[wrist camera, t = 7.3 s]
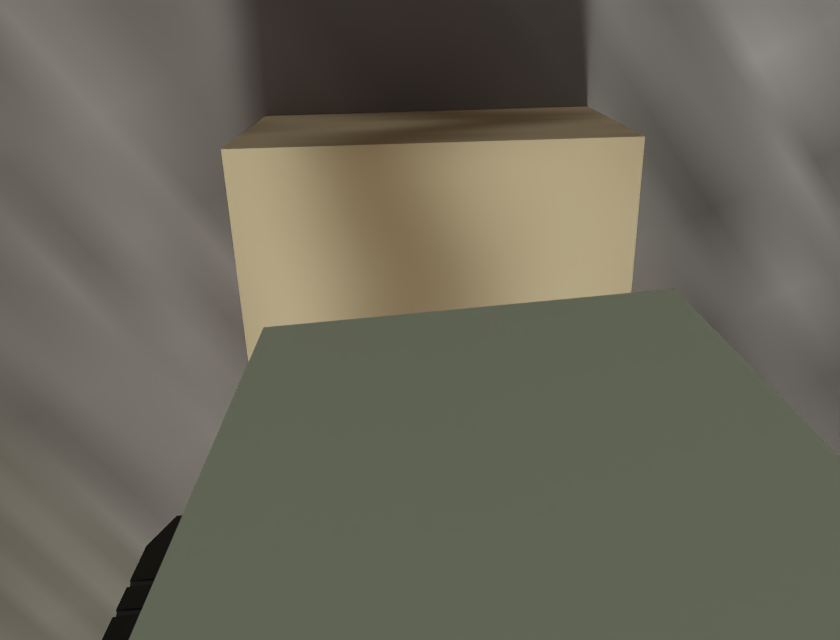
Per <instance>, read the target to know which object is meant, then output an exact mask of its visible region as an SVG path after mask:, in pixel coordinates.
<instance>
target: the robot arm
mask: <svg viewBox="0 0 840 640" xmlns="http://www.w3.org/2000/svg"><path fill="white" fill-rule="evenodd" d="M181 517H182V516H176V517H175V518H174V519H173V520H172V521H171V522H170V523H169V524H168V525H167V526H166V527H165V528H164V529H163V530H162V531H161V532H160V533H159V534H158V535H157V536H156V537H155V538H154V539H153V540H152V541H151V542H150V543H149V544H148V545H147V546H146V548H145V550H144V552H143V554H142V556H141V559H140V561H139V563H138V565H137V567H136V569H135V571H134V573H133V575H132V578H131V580H130V583H131V584H130V587H127V588H126V590H125V592H124V594H123V597H122V599H121V601H120V603H119V605H118V607H117V609H116V611H117V615H116V617H113V618H112V620H111V622H110V624H109V626H108V628H107V630H106V632H105V635H104V637H103V639H102V640H129V638H130V636H131V633H132V631H133V629H134V626H135V624H136V622H137V619H138V617H139V615H140V612H141V610H142V608H143V605H144V603H145V601H146V598H147V596H148V594H149V592H150V589H151V587H152V585H153V582H154V580H155V578H156V575H157V573H158V571H159V568H160V566H161V564H162V561H163V559H164V557H165V554H166V552H167V550H168V547H169V545H170V543H171V541H172V538H173V536H174V534H175V531H176V529H177V527H178V524H179V522H180V520H181Z"/></svg>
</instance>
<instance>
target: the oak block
mask: <svg viewBox="0 0 840 640" xmlns="http://www.w3.org/2000/svg"><path fill="white" fill-rule="evenodd" d="M644 142H645V136H643V135H641V134H639V133H637V132H636V131H634V130H632V129H630V128H628V127H626V126H624V125H622V124H620V123H618V122H616V121H614V120H613V119H611V118H609V117H607V116H605V115H603V114H601V113H599V112H597V111H595V110H593V109H592V108H590V107H588V106H584V107H551V108H518V109H485V110H452V111H418V112H385V113H352V114H319V115H286V116H265V117H263V118H262V119H261V120H259V121H258V122H257V123H255V124H254V125H253V126H251V127H250V128H249V129H247V130H246V131H245V132H243V133H242V134H241V135H239V136H238V137H237V138H235V139H234V140H233V141H231V142H230V143H229V144H227V145H226V146H225V147H223V148H222V149H221V153H222V161H223V168H224V176H225V184H226V192H227V199H228V207H229V215H230V223H231V230H232V238H233V246H234V254H235V262H236V269H237V277H238V285H239V293H240V300H241V308H242V316H243V324H244V331H245V339H246V347H247V355H248V362H249V360H250V357H251V355H252V353H253V350H254V348H255V346H256V344H257V341H258V339H259V337H260V334H261V332H262V330H263V327H272V326H283V325H294V324H304V323H315V322H326V321H336V320H347V319H357V318H368V317H379V316H389V315H400V314H411V313H421V312H432V311H443V310H453V309H464V308H474V307H485V306H496V305H506V304H517V303H528V302H538V301H549V300H560V299H570V298H581V297H591V296H602V295H613V294H623V293H631V289H632V278H633V267H634V255H635V244H636V233H637V221H638V210H639V199H640V188H641V176H642V165H643V154H644Z"/></svg>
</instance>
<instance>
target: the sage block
mask: <svg viewBox="0 0 840 640" xmlns="http://www.w3.org/2000/svg"><path fill="white" fill-rule="evenodd" d="M129 640H840V458H839V457H838V456H837V455H836V454H835V452H834V451H833V450H832V449H831V448H830V447H829V446H828V445H827V444H826V443H825V442H824V441H823V440H822V439H821V438H820V437H819V436H818V435H817V434H816V433H815V432H814V431H813V430H812V429H811V428H810V427H809V426H808V425H807V424H806V423H805V422H804V421H803V420H802V419H801V418H800V417H799V416H798V415H797V414H796V413H795V412H794V411H793V410H792V409H791V407H790V406H789V405H788V404H787V403H786V402H785V401H784V400H783V399H782V398H781V397H780V396H779V395H778V394H777V393H776V392H775V391H774V390H773V389H772V388H771V387H770V386H769V385H768V384H767V383H766V382H765V381H764V380H763V379H762V378H761V377H760V376H759V375H758V374H757V373H756V372H755V371H754V370H753V369H752V368H751V367H750V366H749V365H748V364H747V362H746V361H745V360H744V359H743V358H742V357H741V356H740V355H739V354H738V353H737V352H736V351H735V350H734V349H733V348H732V347H731V346H730V345H729V344H728V343H727V342H726V341H725V340H724V339H723V338H722V337H721V336H720V335H719V334H718V333H717V332H716V331H715V330H714V329H713V328H712V327H711V326H710V325H709V324H708V323H707V322H706V321H705V320H704V318H703V317H702V316H701V315H700V314H699V313H698V312H697V311H696V310H695V309H694V308H693V307H692V306H691V305H690V304H689V303H688V302H687V301H686V300H685V299H684V298H683V297H682V296H681V295H680V294H679V293H678V292H677V291H676V290H675V289H666V290H655V291H645V292H634V293H623V294H613V295H602V296H591V297H581V298H570V299H560V300H549V301H538V302H528V303H517V304H506V305H496V306H485V307H474V308H464V309H453V310H443V311H432V312H421V313H411V314H400V315H389V316H379V317H368V318H357V319H347V320H336V321H326V322H315V323H304V324H294V325H283V326H272V327H263V330H262V332H261V334H260V337H259V339H258V341H257V344H256V346H255V348H254V350H253V353H252V355H251V357H250V360H249V362H248V364H247V367H246V369H245V371H244V374H243V376H242V378H241V381H240V383H239V385H238V388H237V390H236V392H235V395H234V397H233V399H232V401H231V404H230V406H229V408H228V411H227V413H226V415H225V418H224V420H223V422H222V425H221V427H220V429H219V432H218V434H217V436H216V439H215V441H214V443H213V445H212V448H211V450H210V452H209V455H208V457H207V459H206V462H205V464H204V466H203V469H202V471H201V473H200V476H199V478H198V480H197V483H196V485H195V487H194V490H193V492H192V494H191V496H190V499H189V501H188V503H187V506H186V508H185V510H184V513H183V515H182V517H181V520H180V522H179V524H178V527H177V529H176V531H175V534H174V536H173V538H172V541H171V543H170V545H169V547H168V550H167V552H166V554H165V557H164V559H163V561H162V564H161V566H160V568H159V571H158V573H157V575H156V578H155V580H154V582H153V585H152V587H151V589H150V592H149V594H148V596H147V598H146V601H145V603H144V605H143V608H142V610H141V612H140V615H139V617H138V619H137V622H136V624H135V626H134V629H133V631H132V633H131V636H130V638H129Z"/></svg>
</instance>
